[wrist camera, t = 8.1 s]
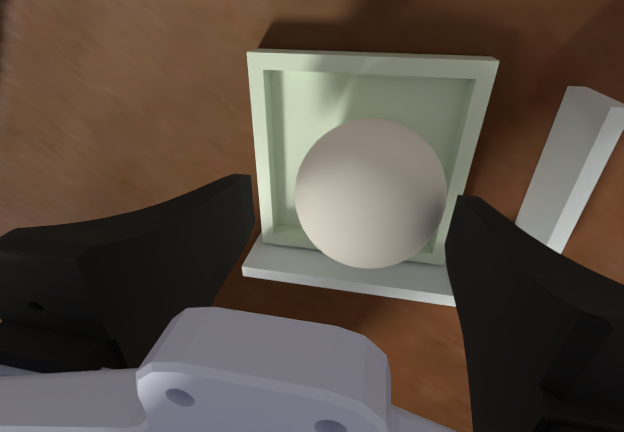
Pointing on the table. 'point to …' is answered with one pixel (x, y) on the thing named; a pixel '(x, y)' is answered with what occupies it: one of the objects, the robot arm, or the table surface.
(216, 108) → the table surface
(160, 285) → the robot arm
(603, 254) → the table surface
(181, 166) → the table surface
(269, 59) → the resting spot
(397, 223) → the ball
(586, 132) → the acrylic walls
